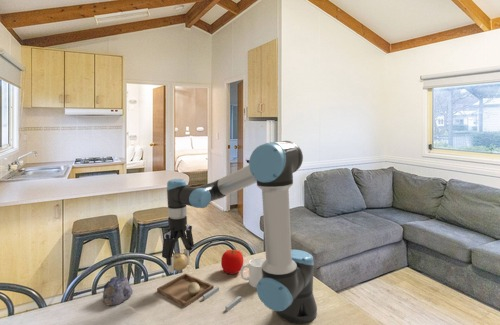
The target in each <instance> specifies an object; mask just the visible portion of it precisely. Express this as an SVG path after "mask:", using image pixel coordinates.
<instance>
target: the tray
mask: <svg viewBox="0 0 500 325" xmlns="http://www.w3.org/2000/svg"><path fill="white" fill-rule="evenodd" d="M192 282H196V283H198V284H199V286H200V290H199V292H198V294H196V295H190V294H189V293H188V290H187V289H188V286H189V284H190V283H192ZM214 286H215V285H213V284H210V283H208V282H206V281H204V280H202V279H199V278H197V277H195V276H192V275H190V274H188V273H186V272H185V273H183V274H181V275H180V276H178V277H176V278H173V279H172V280H170V281H168V282H166V283H165V284H163V285H161V286H159V287H157V288H156V292H157V293H159V294H160V295H162V296H164V297H166V298H168V299H170V300H171V301H173V302H175V303H177V304H179V305H181V306H182V307H184V308H186V307H188V306H190V305H192V304H193V303H195V302H196V301H198V300H199V299H200V298H203V295H204V294H206V293H207V292H209V291H210V290H212V289H213V288H215V287H214Z"/></svg>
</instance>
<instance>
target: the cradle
mask: <svg viewBox="0 0 500 325" xmlns="http://www.w3.org/2000/svg"><path fill="white" fill-rule="evenodd" d="M219 291H220V287H219V286H215V287H214V288H213V289H212V290H210V291H209V292H207V293H206V294H204V295H203V296H202V300H204V301H207V300H208V299H209V298H210V297H212V296H213V295H215V294H216V293H218V292H219ZM240 302H242V296H240V295H238V296H236V298H235V299H233V300H231V301H230V302H229V303H228V304H226V305H225V307H224V308H225V309H224V310H225V311H226V312H229V311H231V310H232V309H233V308H234V307H235V306H237V305H238V304H240Z"/></svg>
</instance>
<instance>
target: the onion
mask: <svg viewBox="0 0 500 325" xmlns="http://www.w3.org/2000/svg"><path fill="white" fill-rule="evenodd" d="M172 257H173V262H174V272H175V271H177V272H178V271H183V270H185V269H186V268H187V267H188V265H187V264H188V258H187V256H186V255H185V254H184V252H179V253H175V254H172Z"/></svg>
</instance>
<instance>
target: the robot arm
mask: <svg viewBox="0 0 500 325" xmlns="http://www.w3.org/2000/svg"><path fill="white" fill-rule="evenodd" d="M303 160H304V156H303V151H302V149H301V148H300V145H298V144H297V143H294V142H293V141H289V140H283V141H273V142H271V141H270V142H265V143H263V144H260V145H259V146H257V147H256V148H255V149H254V150H253V151H252V152H251V155H250V156H249V162H248V165H246V166H244V167H241V168H240V169H238V170H235V171H233V172H231V173H229V174H227V175H225V176H223V177H221V178H219V179H216V180H215V181H212V182H210V183H206V184H202V185H201V184H200V185H198V186H189V185H187V181H186V180H185V179H184V178H183V179H182V178H173V179H169V180H168V181H167V183H166V185H167V186H166V193H167V194H166V196H167V198H166V199H167V216H168V218H167V220H168V222H167V223H168V228H169V230H168V232H167V233H165V232H164V233H163V234H162V238H163V241H162V242H163V243H162V252H161V253H162V254H161V257H162V258H163V259H165V261H166V266H167V272H169V273H171V274H173V273H174V272H175V271H174V262H173V257H172V256H173V255H174V250H175V247H176V244H177V242H178V240H179V239H180V240H181V242H182V244H183V246H184V249H183V254H185V255H186V256H187V258H188V264H187V266H189V265H190V263H191V262H190V256H191V251H192V250H193V247H194V246H195V244H194V238H193V232H192V231H193V230H192V229H193V226H192V225H191V224H190V225H189V224H188V218H187V215H188V212H187V206H189V207H193V208H196V209H204V208H207V207H208V206H209V205H210V203H211V202H213V201H216V200H220V199H223V198H225V197H227V196H228V195H231V194H233V193H235V192H238V191H240V190H243V189H245V188H247V187H251V186H252V185H254V184H256V187H258V188H259V189H260V190H261V195H262V196H261V197H262V213H263V214H262V215H263V232H264V249H265V259H266V261H265V262H263V264H262V279H260V281H259V282H258V284H257V288H256V293H257V296H258V299H259V300H260V301H261V303H262V304H263V305H264V306H265V307H266V308H268V309H269V310H271V311H275V312H276V313H277V315H278V316H279V317H280V318H281V319H283V320H284V321H286V322H289V323H291V324H292V323H293V324H307V323H310V322H312V321H314V320H315V319H316V317H317V314H318V306H317V302H316V300H315V297H314V296H315V295H314V293H313V292H314V290H313V289H314V269H315V268H314V266H315V262H314V256H313V255H312V254H311V253H310V252H307V251H305V250H301V249H292V234H291V232H292V230H291V214H290V213H291V212H290V193H289V192H290V191H289V190H290V188H291V187H292V186H293V184H294V173H296V172H297V171H298V170H299V169H300V167H301V166H302V164H303Z"/></svg>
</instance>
